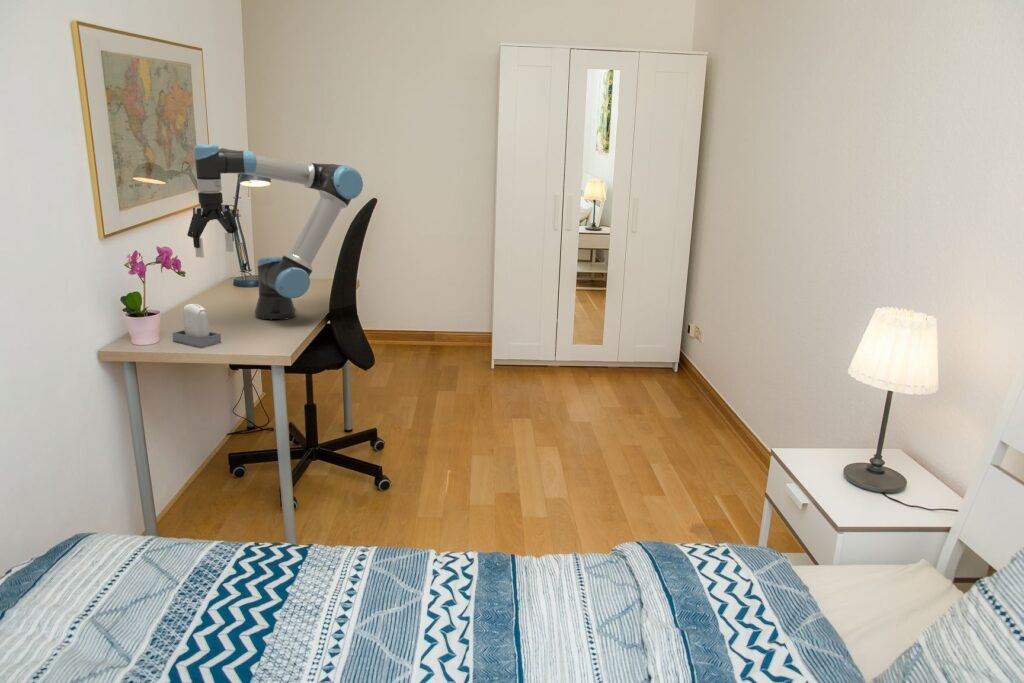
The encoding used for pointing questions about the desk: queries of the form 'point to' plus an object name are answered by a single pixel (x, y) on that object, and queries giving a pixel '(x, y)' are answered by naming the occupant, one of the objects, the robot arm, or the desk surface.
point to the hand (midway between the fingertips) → (215, 254)
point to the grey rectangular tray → (196, 339)
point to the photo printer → (196, 321)
